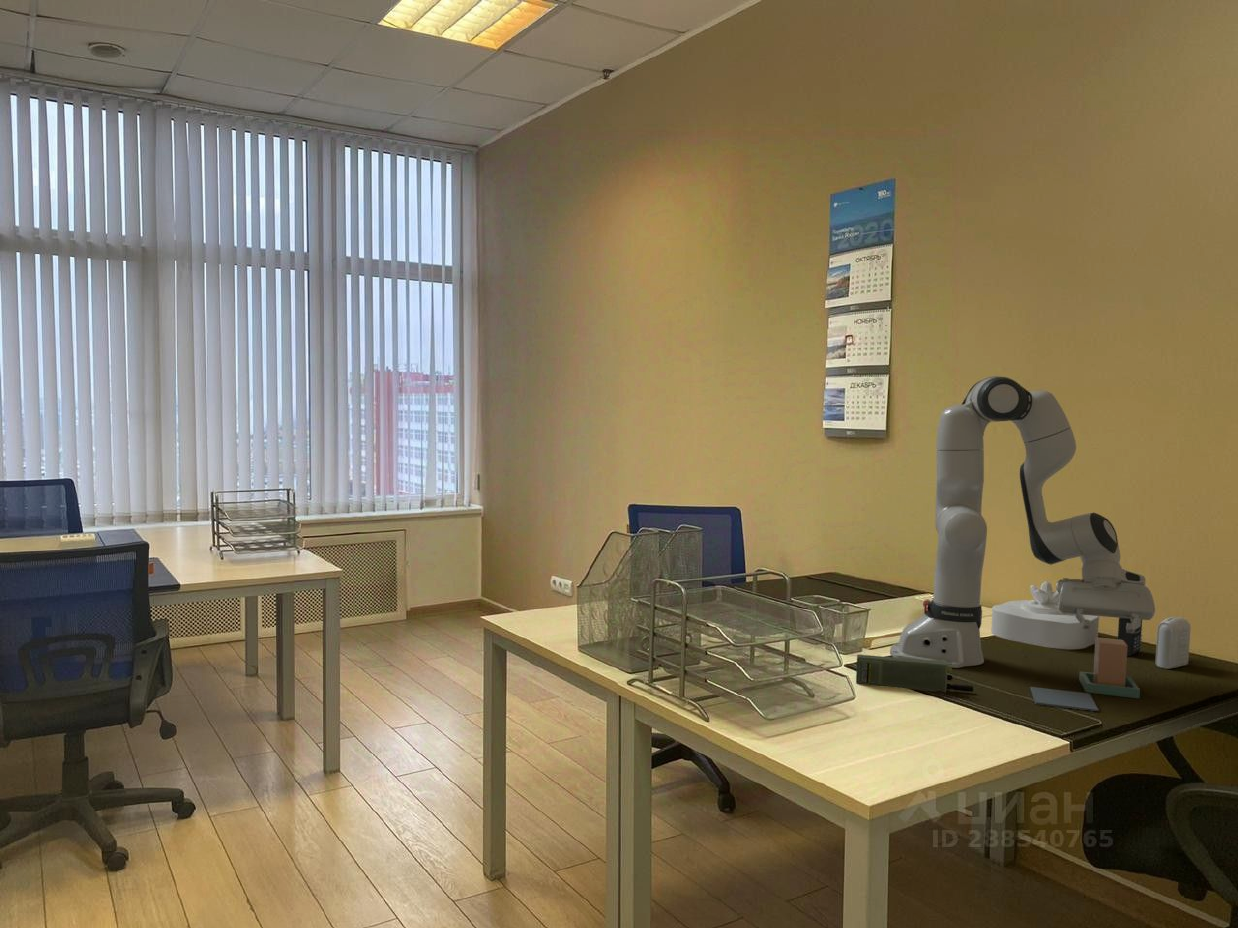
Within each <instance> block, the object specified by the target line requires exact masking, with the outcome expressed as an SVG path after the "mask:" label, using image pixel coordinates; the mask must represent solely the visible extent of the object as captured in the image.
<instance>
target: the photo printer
mask: <svg viewBox="0 0 1238 928" xmlns="http://www.w3.org/2000/svg"><path fill="white" fill-rule="evenodd" d="M1191 630H1192V628H1191V624H1190V622H1189V620H1187V619H1186V618H1183V617H1178V616H1171V617H1167V618H1166V619H1163V620H1162V621H1161V622H1160V623H1159V624H1158V627H1157V632H1156V649H1155V660H1154V661H1155V662H1154V663H1155V665H1156V667H1158V668H1161V669H1173V668H1174V669H1175V668H1179V667H1184V666H1187V665H1188V664H1189V658H1190V657H1189V655H1190V639H1191Z"/></svg>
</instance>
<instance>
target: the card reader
mask: <svg viewBox="0 0 1238 928" xmlns="http://www.w3.org/2000/svg"><path fill="white" fill-rule="evenodd" d="M1127 623H1132V622H1131V621H1130V619H1129V618H1118V627H1117V628H1118V629H1117V639H1119V640H1123V641H1124V642H1125V643H1126V644H1127V645H1128V646H1127V657H1132V656H1134V655H1135V654H1136V653H1139V652H1140V650H1141V648H1142V639H1143V638H1142V637H1143V635H1142V631H1143V629H1142V628H1143V620H1141V619H1138V622H1137V623H1136V625H1135V632H1134V633H1127V630H1126V626H1127Z"/></svg>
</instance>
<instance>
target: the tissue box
mask: <svg viewBox="0 0 1238 928" xmlns="http://www.w3.org/2000/svg"><path fill="white" fill-rule="evenodd" d="M1029 587H1030V588H1029V589H1030V594H1031V596H1032V597H1033V598H1034V599H1027V600H1026V599H1025V600H1023V599H1021V600H1011V601H1007V602H1004V603H1001V604H995V605H993V606H992V612H991V629H990V630H991V631H990V633H991V634H992V635H993V636H995V637H998V638H1001V639H1004V640H1009V641H1013V642H1019V643H1022V644H1026V645H1027V644H1029V645H1033V646H1039V647H1044V648H1049V649H1050V648H1051V649H1058V650H1059V649H1060V650H1080V649H1081V650H1082V649H1085V648H1088V647H1090V646H1092V645H1095V638H1096V637H1099V625H1100V624H1099V622H1100V616H1093V615H1082V616H1083V617H1084V618H1085V619H1086V620H1089V629H1082V627H1081V623H1080V622H1079V621H1078V620H1077V618H1076V617H1075V614H1068V613H1062V612H1061V611H1060V610H1059V596H1060V593H1059V592H1058V591H1057V589H1056V590H1055V591H1054V590H1053V587H1052V584H1051V582H1050V581H1048V580H1045V581H1044V582H1042V583H1041V586H1040V588H1039V587H1037V586H1036V585H1035V584H1031V585H1030V586H1029Z"/></svg>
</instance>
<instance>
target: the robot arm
mask: <svg viewBox="0 0 1238 928" xmlns="http://www.w3.org/2000/svg"><path fill="white" fill-rule="evenodd" d="M1008 421H1009V422H1012V423H1013V424H1014V425H1015V426H1016V428H1017V429H1018V431H1019V433H1020V436H1021V438H1022V441H1023V445H1024V448H1025V460H1024V462H1023V463H1022V464H1021V465H1020V468H1019V481H1020V488H1021V494H1022V499H1023V505H1024V510H1025V514H1026V520H1027V527H1028V534H1029V535H1028V536H1029V537H1028V538H1029V544H1030V548H1031V549H1030V550H1031V552H1032V554H1033V556H1034V557H1035V559H1037V560H1039V561H1040V562H1043V563H1045V564H1048V565H1050V566H1051V565H1054V564H1055V565H1056V564H1058V563H1061V562H1064V561H1066V560H1070V559H1074V558H1080V560H1081V563H1082V567H1081V576H1082V578H1066V577H1063V578H1062V579H1059V580H1058V581H1057V582H1056V586H1055V587H1056V590H1057V591H1058V592H1059V593H1060V596H1059V610H1060V611H1061V612H1062V613H1068V614H1075V617H1076V618H1077V620H1078V621H1079V622H1080V623H1081V627H1082V629H1089V620H1086V619H1085V618H1084V617H1083V616H1082V615H1093V616H1099V617H1105V618H1118V619H1119V618H1129V619H1130V621H1131V622H1132V623H1127V626H1126V630H1127V633H1134V632H1135V625H1136V623H1137V622H1138V619H1141V620H1142V621H1143V620H1144V621H1151V620H1152V618H1153V617H1154V615H1155V613H1156V606H1155V602H1154V598H1153V595H1152V592H1151V590H1150V588H1149V587H1147V586H1146V582H1147V581H1146V577H1145V576H1144V575H1142V574H1139V573H1136V572H1132V571H1129V570H1126V569H1124V568H1123V567H1122V565H1121V564H1120V560H1121V550H1120V545H1119V541H1118V536H1117V531H1116V529H1115V528H1114V525H1113V523H1112V522H1111V521H1110V520H1109V519H1108V518H1106V517H1105V516H1103V515H1101V514H1099V513H1096V512H1089V513H1083V514H1080V515H1076V516H1072V517H1069V518H1065V519H1060V520H1057V521H1049V520H1048V519H1047V513H1046V508H1045V504H1044V498H1043V496H1044V495H1043V487H1044V484H1045V483H1046V482H1047V480H1049V479H1050V478H1051V477H1052V476H1054V475H1055V474H1057V473H1059V471H1061V470H1062V469H1064V468H1065V467H1066V466H1067V465H1068V464H1069V463H1070V462H1071V461H1072V459H1073V458H1074V456H1075V454H1076V450H1077V443H1076V438H1075V435H1074V433H1073V430H1072V426H1071V425H1070V422H1069V420H1068V417H1067V416H1066V413H1065V411H1064V410H1063V408H1062V406H1061V405H1060V403H1059V401H1058V399H1057V398H1056V397H1055V395H1054V394H1053V393H1051V392H1050V391H1047V390H1041V389H1040V390H1034V391H1033V390H1032V391H1029V390H1027V389H1026V388H1025V387H1023V386H1022V385H1021V384H1020V383H1018V382H1017V380H1014V379H1012V378H1009V377H1006V376H989V377H986V378H985V377H984V378H983V379H981V380H978V381H977V382H975V384H973V385H972V387H971V388H970V389H969V391H968V393H967V394H966V396H965V398H964V399H963V401H962V403H961V404H956V405H951V406H949V407H946V408H945V409H943V410H942V412H941V414H940V416H939V421H938V426H937V434H936V435H937V436H936V487H935V488H936V489H935V517H934V518H935V520H934V521H935V522H934V523H935V530H936V532H937V534H938V540H937V542H938V543H937V552H936V560H935V567H934V580H933V582H934V584H933V600H930V599H929V598H928V599H924V600H923V602H922V606H923V607H924V609H923V611H924V615H922V616H921V617H920V616H919V618H917V619H915V620H914V621H912V622H910V623H909V624H907V625H906V626H905V627H904V628H903V629H902V632H901V634H900V636H899V641H898V642H897V643H894V644H892V645H891V646H890V649H889V654H890V656H891V657H894V658H906V659H918V660H930V661H942V662H952V665H948V667H952V669H953V668H955V669H959V668H964V667H972V666H979V665H982V664H984V663H985V659H984V656H983V652H982V644H981V643H982V642H981V631H980V629H981V626H982V622H983V621H982V619H983V609H982V608H983V607H982V605H981V596H982V595H981V593H982V575H983V567H984V561H985V554H986V548H987V547H986V545H987V538H988V537H987V536H988V526H987V521H986V520H985V518H984V516H983V515H982V507H983V506H982V503H983V502H982V501H983V489H984V483H985V475H984V474H985V472H984V471H985V465H984V464H985V463H984V462H985V458H984V457H985V455H984V452H985V451H984V449H985V448H984V435H985V431H986V428H987V426H988V425H989V424H990V423H991V422H993V423H999V422H1008Z"/></svg>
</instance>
